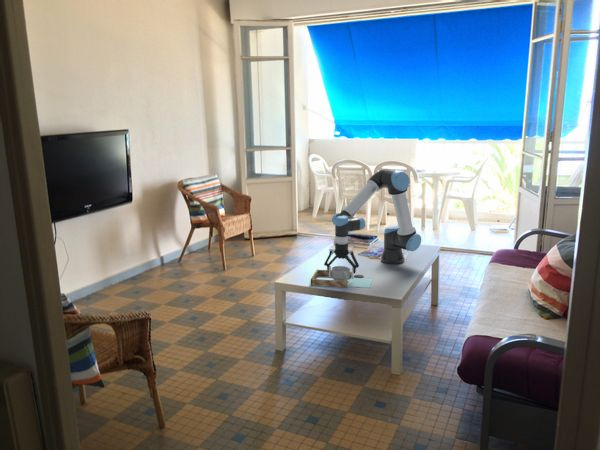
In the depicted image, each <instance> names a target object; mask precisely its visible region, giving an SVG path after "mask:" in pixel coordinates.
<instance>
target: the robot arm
mask: <svg viewBox="0 0 600 450" xmlns="http://www.w3.org/2000/svg"><path fill="white" fill-rule="evenodd" d="M410 182H411V181H410V177H409V174H407V173H406V172H405V171H403V170H399V169H398V170H396V169H389V168H383V169H381V170H378V171H376V172H375V173H373V175H372V176H370V177H369V178H368V179H367V181H366V184H365V185H364V186H363V187H362V189H361V190H359V192H357V193H356V195H354V197H353V198H352V199H351V200H350V201H349V202H348V204H347V205H346V206H345V207H343V209H342V210H341V211H340V213H335V214H334V215H333V216H332V217H331V222H332V224H333V225H334V226H335V227H334V231H335V232H334V234H335V235H334V236H335V237H334V241H335V243H334V247H335V248H334V250H333V249H331V250H329V252H328V253H329V254H328V256H327V258H326V260H325V261H324V264H323V265H324V266H326V270H327V272H329V276H328V278H329V279H330V278H332V276H331V270H332V266H331V265H332V264H333V263H334V261H336V259H342V260H344V259H345V260H346V262H348V263H349V265H350V266H351V267H352V268H351V272H352V279H353V278H355V277H354V275H355V274H356V271H357V268H359V266H360V264H359V262H358V260H357V258H356V256H355V255H354V253H355V252H354V251H353V250H351V251H349V232H356V231H361V230H364V229H365V227H366V220H365V218H363V217H361V216H357V217H355V216H356V215H357V213H359V211H360V210H361V209H362V208H363V207H364V206H365V204H367V202H368V201H369V200H370V199H371V198H372V197H373V196H374V194H375V193H378V192H380V190H381V189H384V188H385V189H387V192H388V195H390V196H391V199H392V203H393V209H394V212H395V213H394V214H395V217H396V223H397V225H396V226H388V227H385V228H384V233H383V251H382V253H381V257H380V261H381V262H383V263H385V264H391V265H395V264H396V265H398V264H402V263H404V262H405V256H404V252H403V250H404V251H408V252H416V251H417V250H418V249H419V247H420V246H421V243H422V236H421V235H420V234H419V233H417V230H416V227H414V226H413V221H412V218H411V212H410V207H409V203H408V198H407V194H406V193H407V192H408V189H409V187H410ZM332 255H334V256H333V258H332V259H331V256H332ZM349 255H350V256H351V258H352V260H353V261H352V260H351V258H350V257H349ZM330 259H331V260H330ZM329 260H330V261H329Z"/></svg>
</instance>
